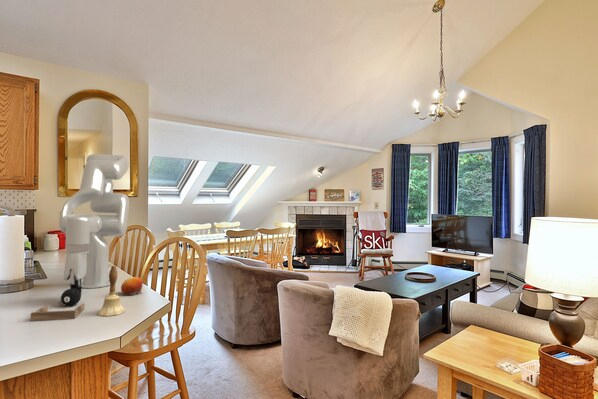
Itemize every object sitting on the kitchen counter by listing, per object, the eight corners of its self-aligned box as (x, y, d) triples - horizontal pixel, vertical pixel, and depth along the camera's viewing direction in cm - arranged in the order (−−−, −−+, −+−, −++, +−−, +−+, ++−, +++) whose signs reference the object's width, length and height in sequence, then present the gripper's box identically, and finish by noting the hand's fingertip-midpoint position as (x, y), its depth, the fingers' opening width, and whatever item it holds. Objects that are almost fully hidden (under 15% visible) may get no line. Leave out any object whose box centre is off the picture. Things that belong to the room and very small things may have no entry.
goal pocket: (44, 311, 115) (44, 304, 115) (84, 309, 119) (84, 302, 119) (30, 321, 106) (30, 313, 106) (74, 318, 109) (74, 311, 109)
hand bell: (99, 310, 119) (101, 264, 119) (125, 308, 122) (127, 263, 122) (95, 317, 111) (97, 269, 111) (124, 315, 114) (125, 267, 115)
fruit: (138, 293, 135) (129, 276, 136) (122, 302, 137) (114, 284, 138) (150, 289, 143) (142, 272, 144) (136, 297, 145) (128, 280, 146)
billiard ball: (83, 302, 126) (84, 286, 126) (75, 307, 120) (76, 290, 120) (65, 303, 125) (66, 286, 125) (57, 308, 119) (57, 291, 119)
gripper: (73, 246, 134) (71, 292, 134) (58, 251, 119) (56, 303, 119) (94, 246, 136) (92, 291, 136) (82, 251, 122) (80, 302, 121)
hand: (75, 297), depth 128 cm, fingers closed
